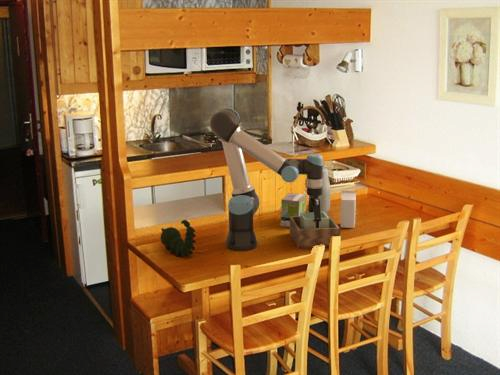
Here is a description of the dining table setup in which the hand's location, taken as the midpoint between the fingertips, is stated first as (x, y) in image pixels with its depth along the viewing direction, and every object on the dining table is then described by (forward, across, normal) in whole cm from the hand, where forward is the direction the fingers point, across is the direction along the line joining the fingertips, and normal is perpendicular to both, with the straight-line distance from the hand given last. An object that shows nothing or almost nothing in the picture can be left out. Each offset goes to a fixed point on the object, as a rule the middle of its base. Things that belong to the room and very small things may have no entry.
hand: (314, 230), depth 322 cm
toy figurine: (+5, -8, +67) cm, 67 cm away
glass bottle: (+5, +39, -12) cm, 41 cm away
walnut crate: (+5, 0, 0) cm, 5 cm away
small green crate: (+1, 0, 0) cm, 1 cm away
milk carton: (+5, +19, -22) cm, 29 cm away
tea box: (+5, +28, +5) cm, 29 cm away
